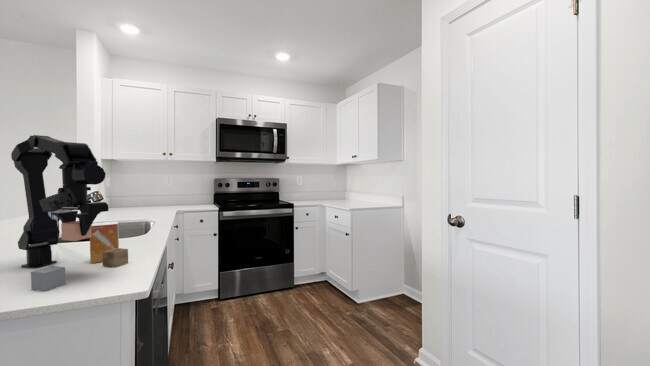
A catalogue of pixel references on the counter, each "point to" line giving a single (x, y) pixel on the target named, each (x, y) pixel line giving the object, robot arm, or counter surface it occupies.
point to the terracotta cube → (73, 231)
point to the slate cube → (48, 278)
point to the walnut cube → (115, 257)
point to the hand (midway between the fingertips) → (76, 235)
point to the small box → (103, 239)
